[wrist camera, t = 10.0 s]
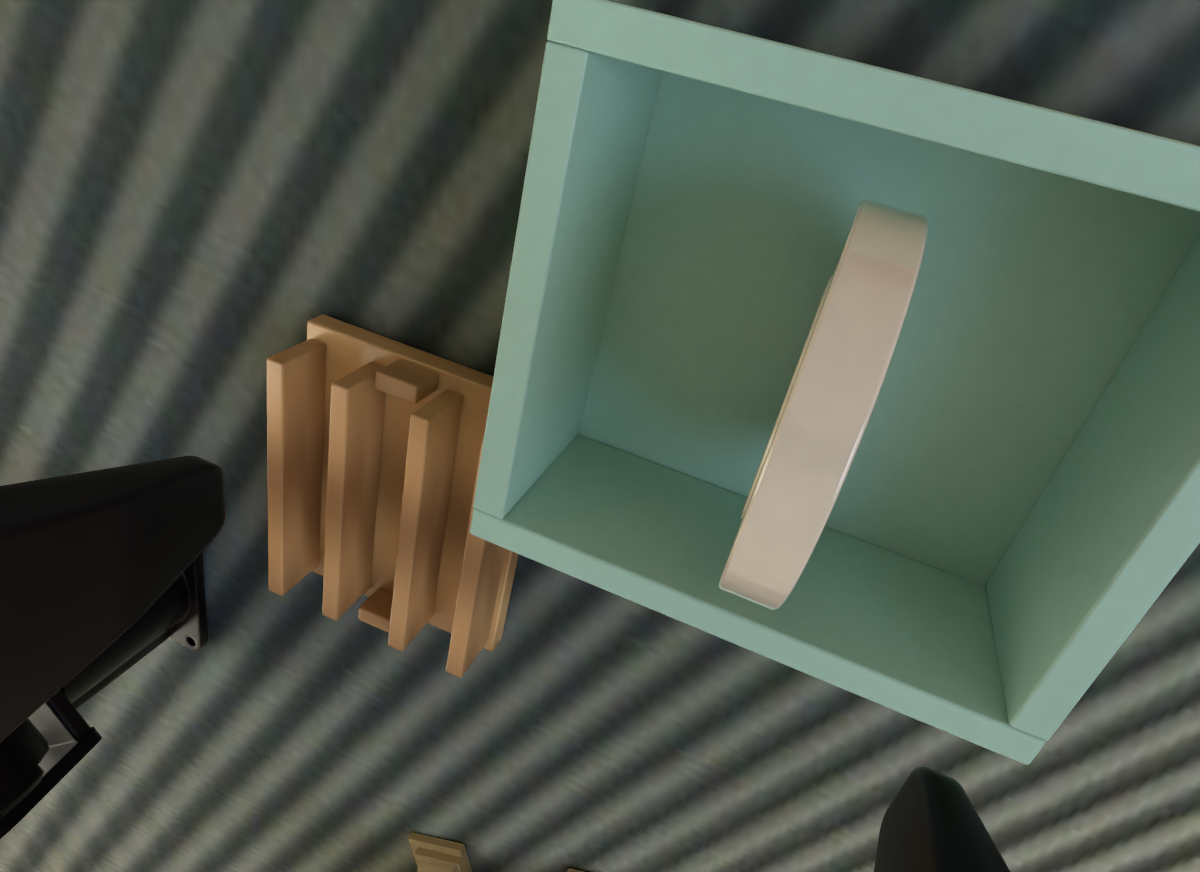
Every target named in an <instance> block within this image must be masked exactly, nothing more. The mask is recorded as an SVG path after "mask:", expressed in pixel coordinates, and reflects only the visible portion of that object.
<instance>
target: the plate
mask: <svg viewBox="0 0 1200 872" xmlns="http://www.w3.org/2000/svg"><path fill="white" fill-rule="evenodd" d="M927 235H928V220H927V217H925V216H924V215H921V214H918V213H914V212H911V211H907V210H904V209H900V208H897V207H893V206H889V205H886V204H882V203H879V202H875V201H872V200H868V199H862V200H861V201H860V202H859V204H858V207H857V209H856V212H855V214H854V217H853V219H852V222H851V224H850V227H849V229H848V232H847V234H846V237H845V240H844V242H843V245H842V247H841V250H840V253H839V255H838V258H837V261H836V263H835V266H834V268H833V271H832V274H831V275H830V276H829V278H828V281H827V283H826V286H825V288H824V291H823V294H822V296H821V299H820V302H819V304H818V307H817V309H816V312H815V315H814V317H813V320H812V323H811V325H810V328H809V331H808V333H807V336H806V339H805V341H804V344H803V347H802V349H801V352H800V355H799V357H798V360H797V363H796V365H795V368H794V371H793V373H792V376H791V379H790V381H789V384H788V387H787V390H786V392H785V395H784V398H783V400H782V403H781V406H780V408H779V411H778V414H777V416H776V419H775V422H774V425H773V427H772V430H771V433H770V435H769V438H768V441H767V443H766V446H765V449H764V452H763V454H762V457H761V460H760V462H759V465H758V468H757V471H756V473H755V476H754V479H753V481H752V484H751V487H750V490H749V492H748V495H747V498H746V501H745V504H744V506H743V509H742V512H741V515H740V521H739V524H738V526H737V529H736V532H735V535H734V537H733V540H732V543H731V546H730V549H729V551H728V554H727V557H726V560H725V563H724V565H723V568H722V571H721V574H720V577H719V580H718V583H717V585H718V588H719V589H720V590H723V591H725V592H728V593H730V594H733V595H735V596H738V597H740V598H743V599H745V600H748V601H750V602H753V603H755V604H758V605H760V606H763V607H765V608H768V609H770V610H777V609H778V608H780V607H781V606H782V605H783V603H784V602H785V601H786V599H787V598H788V597H789V595H790V594H791V592H792V590H793V589H794V587H795V585H796V584H797V582H798V580H799V578H800V576H801V575H802V573H803V571H804V569H805V567H806V565H807V563H808V561H809V559H810V557H811V555H812V553H813V551H814V549H815V547H816V545H817V542H818V540H819V538H820V536H821V534H822V532H823V530H824V528H825V525H826V523H827V521H828V519H829V516H830V514H831V512H832V510H833V507H834V505H835V503H836V501H837V498H838V496H839V493H840V491H841V489H842V486H843V484H844V482H845V479H846V477H847V474H848V472H849V470H850V467H851V465H852V462H853V460H854V457H855V455H856V452H857V450H858V447H859V445H860V442H861V440H862V437H863V435H864V432H865V430H866V427H867V425H868V422H869V419H870V417H871V414H872V412H873V409H874V406H875V404H876V401H877V398H878V396H879V393H880V390H881V387H882V385H883V382H884V379H885V377H886V374H887V371H888V368H889V365H890V362H891V360H892V357H893V354H894V351H895V348H896V345H897V342H898V339H899V336H900V333H901V330H902V327H903V324H904V321H905V318H906V315H907V312H908V309H909V306H910V302H911V299H912V296H913V292H914V289H915V286H916V282H917V279H918V275H919V271H920V268H921V264H922V260H923V255H924V251H925V246H926V241H927Z"/></svg>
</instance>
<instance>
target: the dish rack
mask: <svg viewBox="0 0 1200 872" xmlns="http://www.w3.org/2000/svg"><path fill="white" fill-rule="evenodd" d="M492 383H493V376H490V375H487V374H485V373H482V372H479V371H476V370H474V369H471V368H468V367H466V366H463V365H460V364H457V363H455V362H452V361H449V360H446V359H444V358H441V357H438V356H436V355H433V354H430V353H427V352H425V351H422V350H419V349H416V348H414V347H411V346H408V345H405V344H403V343H400V342H397V341H395V340H392V339H389V338H386V337H384V336H381V335H378V334H375V333H373V332H370V331H367V330H365V329H362V328H359V327H356V326H354V325H351V324H348V323H345V322H343V321H340V320H337V319H334V318H332V317H329V316H326V315H320V316H318V317H315V318H313V319H311V320H308V322H307V340H306V341H304V342H302V343H299V344H297V345H295V346H293V347H291V348H288V349H286V350H284V351H282V352H280V353H277V354H275V355H273V356H271V357H269V358H267V461H268V589H269V590H270V591H272V592H274V593H276V594H278V595H281V596H282V595H284V594H285V593H286V592H287V591H288V590H290V589H291V588H292V587H293V586H294V585H296V584H297V583H298V582H299V581H300V580H301V579H303V578H304V577H305V576H306V575H307V574H309V573H310V572H311V571H313V572H315V573H317V574H319V575H322V576H324V579H323V604H322V614H323V615H324V616H326V617H328V618H331V619H333V620H337V619H338V618H340V617H341V616H342V615H343V614H344V613H345V612H346V611H347V610H348V609H349V608H350V607H351V606H352V605H353V604H354V603H355V602H356V601H357V600H358V599H359V598H360V597H361V596H362V595H363V594H364V595H366V596H369V598H368V599H367V600H366V601H365V602H364V603H363V604H362V605H361V606H360V607H359V616H358V618H359V620H361V621H364V622H366V623H368V624H370V625H372V626H375V627H377V628H379V629H381V630H383V631H386V632H388V633H389V637H388V645H389V646H391V647H393V648H396V649H398V650H400V651H403V650H404V649H405V648H406V647H407V646H408V644H409V643H410V642H411V641H412V640H413V639H414V637H415V636H416V635H417V634H418V633H419V632H420V630H421V629H422V628H423V627H424V626H425V625H426V623H429V624H431V625H433V626H436V627H438V628H440V629H442V630H444V631H447V632H449V633H451V640H450V647H449V653H448V660H447V666H446V672H448V673H450V674H452V675H454V676H457V677H459V678H461V677H462V676H463V675H464V673H465V672H466V670H467V669H468V668H469V666H470V665H471V663H472V662H473V661H474V659H475V658H476V657H477V655H478V654H479V652H480V651H481V650H482V648H485V649H487V650H489V651H493V650H494V648H495V647H496V645H497V644H498V643H499V641H500V640H501V638H502V634H503V629H504V624H505V619H506V614H507V609H508V604H509V599H510V594H511V589H512V584H513V579H514V574H515V569H516V564H517V559H518V555H519V554H517V553H515V552H512V551H510V550H508V549H505V548H503V547H500V546H498V545H496V544H493V543H491V542H488V541H486V540H484V539H481V538H479V537H476V536H474V535H472V534H471V533H470V527H471V521H472V514H473V509H474V507H473V504H474V498H475V491H476V485H477V479H478V472H479V466H480V460H481V453H482V447H483V441H484V434H485V428H486V422H487V415H488V409H489V403H490V396H491V390H492Z"/></svg>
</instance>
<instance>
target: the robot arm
mask: <svg viewBox="0 0 1200 872" xmlns="http://www.w3.org/2000/svg"><path fill="white" fill-rule="evenodd" d="M224 521H225V481H224V473H223V471H222V469H221V468H220V467H219V466H218V465H216V464H213V463H211V462H209V461H206V460H204V459H201V458H199V457H196V456H183V457H177V458H171V459H165V460H159V461H152V462H146V463H140V464H134V465H128V466H122V467H115V468H109V469H103V470H97V471H91V472H85V473H78V474H72V475H66V476H60V477H54V478H48V479H41V480H35V481H29V482H23V483H17V484H11V485H4V486H0V839H1V838H2V837H3V836H4V835H5V834H6V833H8V832H9V831H10V830H11V829H12V828H13V827H14V826H15V825H16V824H17V823H18V822H19V821H20V820H21V819H22V818H23V817H24V816H25V815H26V814H27V813H28V812H29V811H30V810H31V809H32V808H33V807H34V806H35V805H36V804H37V803H38V802H39V801H40V800H41V799H42V798H43V797H44V796H45V795H46V794H47V793H48V792H49V791H50V790H51V789H52V788H53V787H54V786H55V785H56V784H57V783H58V782H59V781H60V780H61V779H62V778H63V777H64V776H65V775H66V774H67V773H68V772H69V771H70V770H71V769H72V768H73V767H74V766H75V765H76V764H77V763H78V762H79V761H80V760H81V759H82V758H83V757H84V756H85V755H86V754H87V753H88V752H89V751H90V750H91V749H92V748H93V747H94V746H95V745H96V744H97V743H98V742H99V741H100V740H101V739H102V737H101V736H100V734H99V733H98V732H97V731H96V729H95V728H94V727H90V726H89V725H88V724H87V723H86V721H85V720H84V719H83V718H82V716H81V715H80V714H79V712H78V711H77V710H76V709H77V708H78V707H80V706H81V705H82V704H84V703H85V702H86V701H87V700H89V699H90V698H91V697H93V696H94V695H95V694H96V693H98V692H99V691H100V690H102V689H103V688H104V687H106V686H107V685H108V684H109V683H111V682H112V681H113V680H115V679H116V678H117V677H118V676H120V675H121V674H122V673H124V672H125V671H126V670H127V669H129V668H130V667H131V666H133V665H134V664H135V663H137V662H138V661H139V660H140V659H142V658H143V657H144V656H146V655H147V654H148V653H149V652H151V651H152V650H153V649H155V648H156V647H157V646H159V645H160V644H161V643H162V642H164V641H165V640H166V639H168V638H169V639H171V640H173V641H175V642H177V643H179V644H181V645H183V646H185V647H187V648H189V649H191V650H194V651H198V650H200V649H201V648H202V647H203V646H204V645H206V644H207V641H208V638H207V622H206V607H205V591H204V575H203V559H202V551H203V550H204V549H205V548H206V547H207V546H208V545H209V544H210V543H211V542H212V540H213V539H214V538H215V537H216V536H217V535H218V534H219V532H220V530H221V529H222V527H223V524H224ZM874 872H1010V870H1009V869H1008V867H1007V865H1006V863H1005V862H1004V860H1003V858H1002V856H1001V854H1000V853H999V851H998V849H997V847H996V846H995V844H994V842H993V840H992V839H991V837H990V835H989V833H988V832H987V830H986V828H985V826H984V825H983V823H982V821H981V819H980V818H979V816H978V814H977V812H976V811H975V809H974V807H973V805H972V804H971V802H970V800H969V798H968V796H967V795H966V793H965V791H964V789H963V788H962V786H961V785H960V784H959V783H958V782H957V781H956V780H954V779H953V778H950V777H948V776H946V775H943V774H941V773H939V772H936V771H934V770H932V769H929V768H927V767H917V768H916V769H915V770H913V771H912V773H911V774H910V776H909V777H908V779H907V780H906V782H905V783H904V785H903V786H902V788H901V789H900V791H899V792H898V794H897V795H896V797H895V798H894V800H893V801H892V803H891V804H890V806H889V808H888V809H887V811H886V813H885V815H884V818H883V821H882V824H881V828H880V834H879V841H878V847H877V854H876V861H875V868H874Z"/></svg>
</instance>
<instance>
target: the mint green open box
mask: <svg viewBox="0 0 1200 872" xmlns="http://www.w3.org/2000/svg"><path fill="white" fill-rule="evenodd" d="M547 39H548V40H549V41H548V42H547V43H546V48H545V54H544V60H543V67H542V73H541V79H540V86H539V92H538V98H537V105H536V111H535V117H534V124H533V130H532V136H531V143H530V149H529V155H528V162H527V168H526V174H525V181H524V187H523V193H522V200H521V206H520V212H519V219H518V225H517V231H516V238H515V244H514V250H513V257H512V263H511V269H510V276H509V282H508V288H507V295H506V301H505V307H504V314H503V320H502V326H501V333H500V339H499V345H498V352H497V358H496V364H495V371H494V377H493V383H492V390H491V396H490V403H489V409H488V415H487V422H486V428H485V434H484V441H483V447H482V453H481V460H480V466H479V472H478V479H477V485H476V491H475V498H474V504H473V507H474V509H473V514H472V521H471V527H470V533H471V534H472V535H474V536H476V537H479V538H481V539H484V540H486V541H488V542H491V543H493V544H496V545H498V546H500V547H503V548H505V549H508V550H510V551H512V552H515V553H517V554H520V555H522V556H524V557H527V558H529V559H532V560H534V561H536V562H539V563H541V564H544V565H546V566H549V567H551V568H553V569H556V570H558V571H561V572H563V573H565V574H568V575H570V576H573V577H575V578H577V579H580V580H582V581H585V582H587V583H589V584H592V585H594V586H597V587H599V588H601V589H604V590H606V591H609V592H611V593H613V594H616V595H618V596H621V597H623V598H626V599H628V600H630V601H633V602H635V603H638V604H640V605H642V606H645V607H647V608H650V609H652V610H654V611H657V612H659V613H662V614H664V615H666V616H669V617H671V618H674V619H676V620H678V621H681V622H683V623H686V624H688V625H690V626H693V627H695V628H698V629H700V630H703V631H705V632H707V633H710V634H712V635H715V636H717V637H719V638H722V639H724V640H727V641H729V642H731V643H734V644H736V645H739V646H741V647H743V648H746V649H748V650H751V651H753V652H755V653H758V654H760V655H763V656H765V657H767V658H770V659H772V660H775V661H777V662H780V663H782V664H784V665H787V666H789V667H792V668H794V669H796V670H799V671H801V672H804V673H806V674H808V675H811V676H813V677H816V678H818V679H820V680H823V681H825V682H828V683H830V684H832V685H835V686H837V687H840V688H842V689H844V690H847V691H849V692H852V693H854V694H856V695H859V696H861V697H864V698H866V699H869V700H871V701H873V702H876V703H878V704H881V705H883V706H885V707H888V708H890V709H893V710H895V711H897V712H900V713H902V714H905V715H907V716H909V717H912V718H914V719H917V720H919V721H921V722H924V723H926V724H929V725H931V726H933V727H936V728H938V729H941V730H943V731H946V732H948V733H950V734H953V735H955V736H958V737H960V738H962V739H965V740H967V741H970V742H972V743H974V744H977V745H979V746H982V747H984V748H986V749H989V750H991V751H994V752H996V753H998V754H1001V755H1003V756H1006V757H1008V758H1010V759H1013V760H1015V761H1018V762H1020V763H1023V764H1026V765H1028V764H1030V763H1031V761H1032V760H1033V759H1034V757H1035V756H1036V755H1037V754H1038V752H1039V751H1040V750H1041V748H1042V747H1043V746H1044V744H1045V740H1049V739H1050V737H1051V736H1052V735H1053V734H1054V732H1055V731H1056V730H1057V728H1058V727H1059V726H1060V724H1061V723H1062V722H1063V720H1064V719H1065V718H1066V717H1067V715H1068V714H1069V713H1070V711H1071V710H1072V709H1073V707H1074V706H1075V705H1076V704H1077V702H1078V701H1079V700H1080V698H1081V697H1082V696H1083V694H1084V693H1085V692H1086V690H1087V689H1088V688H1089V687H1090V685H1091V684H1092V683H1093V681H1094V680H1095V679H1096V677H1097V676H1098V675H1099V673H1100V672H1101V671H1102V670H1103V668H1104V667H1105V666H1106V664H1107V663H1108V662H1109V660H1110V659H1111V658H1112V656H1113V655H1114V654H1115V653H1116V651H1117V650H1118V649H1119V647H1120V646H1121V645H1122V643H1123V642H1124V641H1125V640H1126V638H1127V637H1128V636H1129V634H1130V633H1131V632H1132V630H1133V629H1134V628H1135V626H1136V625H1137V624H1138V623H1139V621H1140V620H1141V619H1142V617H1143V616H1144V615H1145V613H1146V612H1147V611H1148V609H1149V608H1150V607H1151V606H1152V604H1153V603H1154V602H1155V600H1156V599H1157V598H1158V596H1159V595H1160V594H1161V593H1162V591H1163V590H1164V589H1165V587H1166V586H1167V585H1168V583H1169V582H1170V581H1171V579H1172V578H1173V577H1174V576H1175V574H1176V573H1177V572H1178V570H1179V569H1180V568H1181V566H1182V565H1183V564H1184V562H1185V561H1186V560H1187V559H1188V557H1189V556H1190V555H1191V553H1192V552H1193V551H1194V549H1195V548H1196V547H1197V545H1198V544H1199V543H1200V146H1198V145H1194V144H1190V143H1186V142H1182V141H1178V140H1174V139H1170V138H1166V137H1162V136H1158V135H1154V134H1150V133H1146V132H1142V131H1138V130H1133V129H1129V128H1125V127H1121V126H1117V125H1113V124H1109V123H1105V122H1101V121H1097V120H1093V119H1089V118H1085V117H1081V116H1077V115H1073V114H1069V113H1064V112H1060V111H1056V110H1052V109H1048V108H1044V107H1040V106H1036V105H1032V104H1028V103H1024V102H1020V101H1016V100H1012V99H1008V98H1004V97H1000V96H995V95H991V94H987V93H983V92H979V91H975V90H971V89H967V88H963V87H959V86H955V85H951V84H947V83H943V82H939V81H935V80H931V79H926V78H922V77H918V76H914V75H910V74H906V73H902V72H898V71H894V70H890V69H886V68H882V67H878V66H874V65H870V64H866V63H861V62H857V61H853V60H849V59H845V58H841V57H837V56H833V55H829V54H825V53H821V52H817V51H813V50H809V49H805V48H801V47H797V46H792V45H788V44H784V43H780V42H776V41H772V40H768V39H764V38H760V37H756V36H752V35H748V34H744V33H740V32H736V31H732V30H728V29H723V28H719V27H715V26H711V25H707V24H703V23H699V22H695V21H691V20H687V19H683V18H679V17H675V16H671V15H667V14H663V13H659V12H654V11H650V10H646V9H642V8H638V7H634V6H630V5H626V4H622V3H618V2H613V1H609V0H553V3H552V9H551V16H550V22H549V28H548V35H547ZM862 199H868V200H872V201H875V202H879V203H882V204H886V205H889V206H893V207H897V208H900V209H904V210H907V211H911V212H914V213H918V214H921V215H924V216H925V217H927V220H928V235H927V241H926V246H925V251H924V255H923V260H922V264H921V268H920V271H919V275H918V279H917V282H916V286H915V289H914V292H913V296H912V299H911V302H910V306H909V309H908V312H907V315H906V318H905V321H904V324H903V327H902V330H901V333H900V336H899V339H898V342H897V345H896V348H895V351H894V354H893V357H892V360H891V362H890V365H889V368H888V371H887V374H886V377H885V379H884V382H883V385H882V387H881V390H880V393H879V396H878V398H877V401H876V404H875V406H874V409H873V412H872V414H871V417H870V419H869V422H868V425H867V427H866V430H865V432H864V435H863V437H862V440H861V442H860V445H859V447H858V450H857V452H856V455H855V457H854V460H853V462H852V465H851V467H850V470H849V472H848V474H847V477H846V479H845V482H844V484H843V486H842V489H841V491H840V493H839V496H838V498H837V501H836V503H835V505H834V507H833V510H832V512H831V514H830V516H829V519H828V521H827V523H826V525H825V528H824V530H823V532H822V534H821V536H820V538H819V540H818V542H817V545H816V547H815V549H814V551H813V553H812V555H811V557H810V559H809V561H808V563H807V565H806V567H805V569H804V571H803V573H802V575H801V576H800V578H799V580H798V582H797V584H796V585H795V587H794V589H793V590H792V592H791V594H790V595H789V597H788V598H787V599H786V601H785V602H784V603H783V605H782V606H781V607H780V608H778V609H777V610H770V609H768V608H765V607H763V606H760V605H758V604H755V603H753V602H750V601H748V600H745V599H743V598H740V597H738V596H735V595H733V594H730V593H728V592H725V591H723V590H720V589H719V588H718V585H717V583H718V580H719V577H720V574H721V571H722V568H723V565H724V563H725V560H726V557H727V554H728V551H729V549H730V546H731V543H732V540H733V537H734V535H735V532H736V529H737V526H738V524H739V521H740V515H741V512H742V509H743V506H744V504H745V501H746V498H747V495H748V492H749V490H750V487H751V484H752V481H753V479H754V476H755V473H756V471H757V468H758V465H759V462H760V460H761V457H762V454H763V452H764V449H765V446H766V443H767V441H768V438H769V435H770V433H771V430H772V427H773V425H774V422H775V419H776V416H777V414H778V411H779V408H780V406H781V403H782V400H783V398H784V395H785V392H786V390H787V387H788V384H789V381H790V379H791V376H792V373H793V371H794V368H795V365H796V363H797V360H798V357H799V355H800V352H801V349H802V347H803V344H804V341H805V339H806V336H807V333H808V331H809V328H810V325H811V323H812V320H813V317H814V315H815V312H816V309H817V307H818V304H819V302H820V299H821V296H822V294H823V291H824V288H825V286H826V283H827V281H828V278H829V276H830V275H831V274H832V271H833V268H834V266H835V263H836V261H837V258H838V255H839V253H840V250H841V247H842V245H843V242H844V240H845V237H846V234H847V232H848V229H849V227H850V224H851V222H852V219H853V217H854V214H855V212H856V209H857V207H858V204H859V202H860V201H861V200H862Z"/></svg>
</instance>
